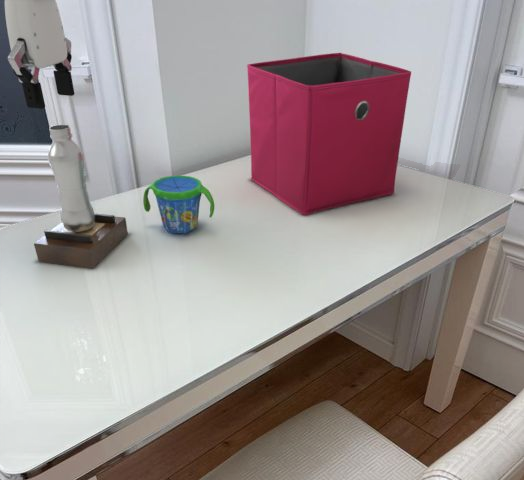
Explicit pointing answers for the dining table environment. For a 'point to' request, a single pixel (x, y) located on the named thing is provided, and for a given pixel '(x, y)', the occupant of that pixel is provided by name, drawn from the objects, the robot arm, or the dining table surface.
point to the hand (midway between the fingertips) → (52, 101)
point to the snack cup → (178, 202)
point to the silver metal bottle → (70, 180)
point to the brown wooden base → (82, 242)
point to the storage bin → (326, 129)
